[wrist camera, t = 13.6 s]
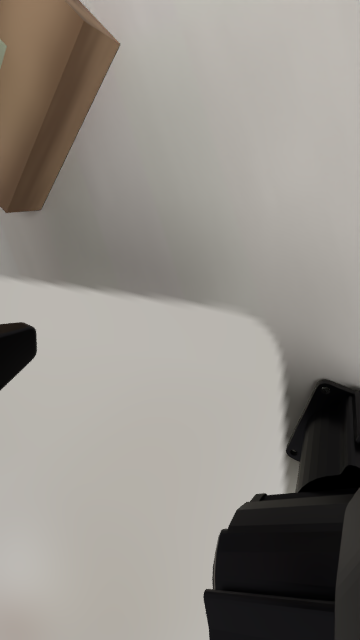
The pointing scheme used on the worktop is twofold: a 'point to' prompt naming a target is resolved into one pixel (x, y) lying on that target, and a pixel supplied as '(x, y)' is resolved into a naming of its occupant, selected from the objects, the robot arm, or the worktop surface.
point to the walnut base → (45, 91)
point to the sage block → (2, 51)
